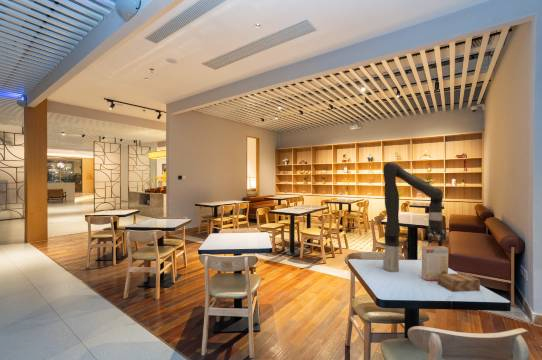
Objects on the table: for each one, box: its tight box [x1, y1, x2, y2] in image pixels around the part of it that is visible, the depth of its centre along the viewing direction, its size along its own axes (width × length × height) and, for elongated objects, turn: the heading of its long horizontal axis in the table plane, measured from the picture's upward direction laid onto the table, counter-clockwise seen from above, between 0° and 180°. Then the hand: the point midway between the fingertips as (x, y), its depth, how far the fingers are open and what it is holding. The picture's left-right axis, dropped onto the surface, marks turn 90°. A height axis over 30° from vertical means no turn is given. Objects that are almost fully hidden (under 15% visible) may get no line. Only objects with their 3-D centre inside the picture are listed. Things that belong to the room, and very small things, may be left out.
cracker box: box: [421, 245, 449, 282], centre depth 174 cm, size 14×6×21 cm, turn 91°
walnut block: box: [437, 272, 481, 292], centre depth 162 cm, size 18×11×6 cm, turn 98°
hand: (435, 244), depth 174 cm, fingers open, 8 cm apart
